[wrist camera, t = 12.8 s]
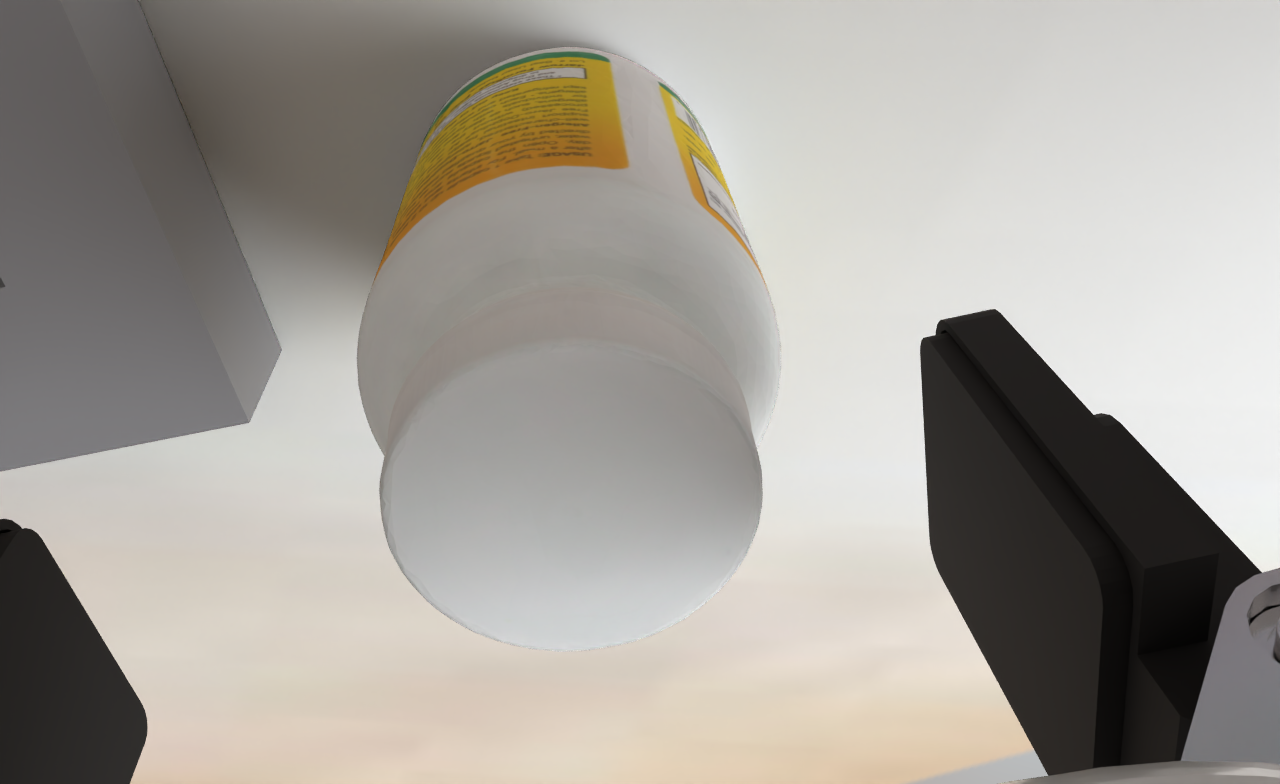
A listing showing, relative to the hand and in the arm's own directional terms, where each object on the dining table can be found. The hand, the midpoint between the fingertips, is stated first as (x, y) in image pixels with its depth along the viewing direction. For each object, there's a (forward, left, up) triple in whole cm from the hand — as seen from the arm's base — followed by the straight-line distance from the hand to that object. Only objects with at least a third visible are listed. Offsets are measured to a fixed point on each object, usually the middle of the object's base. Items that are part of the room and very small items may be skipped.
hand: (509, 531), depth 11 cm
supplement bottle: (-1, 0, -10) cm, 10 cm away
